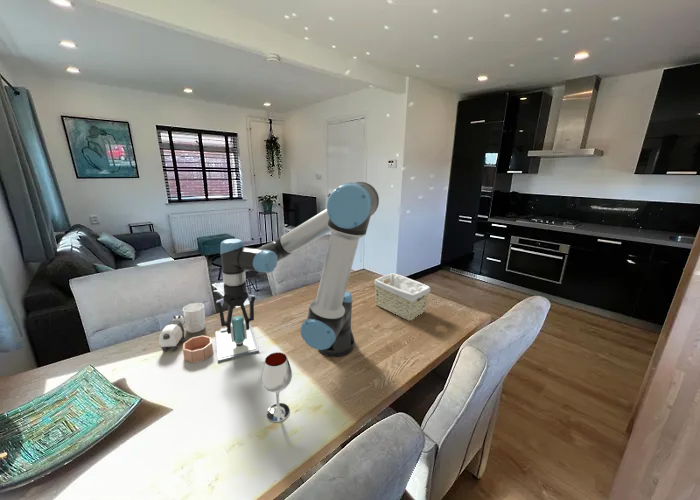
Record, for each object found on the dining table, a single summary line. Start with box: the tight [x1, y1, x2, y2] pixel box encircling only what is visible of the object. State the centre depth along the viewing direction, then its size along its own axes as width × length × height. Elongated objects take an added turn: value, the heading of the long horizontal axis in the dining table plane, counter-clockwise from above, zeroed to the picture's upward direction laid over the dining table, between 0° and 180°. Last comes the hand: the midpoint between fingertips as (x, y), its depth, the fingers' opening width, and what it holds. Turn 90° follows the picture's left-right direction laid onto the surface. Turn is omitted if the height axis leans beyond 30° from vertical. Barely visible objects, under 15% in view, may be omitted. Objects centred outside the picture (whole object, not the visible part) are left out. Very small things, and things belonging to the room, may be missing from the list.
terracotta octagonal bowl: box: [182, 334, 214, 363], centre depth 102 cm, size 9×9×4 cm
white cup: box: [182, 302, 206, 334], centre depth 117 cm, size 8×8×10 cm
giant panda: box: [158, 315, 186, 353], centre depth 108 cm, size 15×6×10 cm, turn 10°
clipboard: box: [214, 323, 260, 363], centre depth 110 cm, size 20×14×2 cm
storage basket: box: [374, 272, 431, 321], centre depth 140 cm, size 24×16×15 cm
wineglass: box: [260, 351, 293, 423], centre depth 77 cm, size 8×8×18 cm
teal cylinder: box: [231, 315, 245, 346], centre depth 106 cm, size 4×4×11 cm
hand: (239, 338), depth 107 cm, fingers closed on teal cylinder, 4 cm apart
